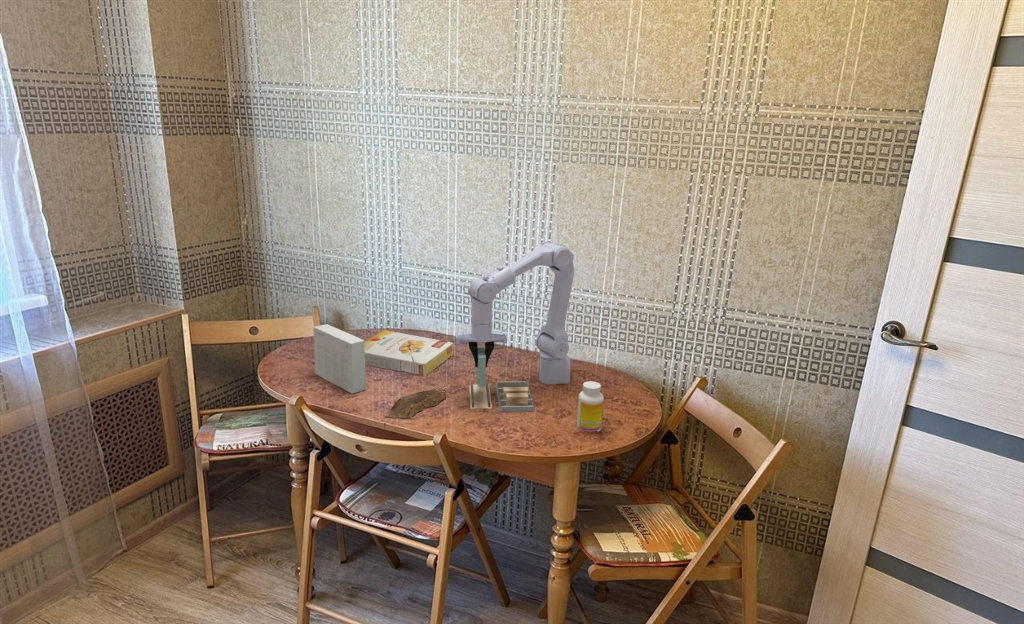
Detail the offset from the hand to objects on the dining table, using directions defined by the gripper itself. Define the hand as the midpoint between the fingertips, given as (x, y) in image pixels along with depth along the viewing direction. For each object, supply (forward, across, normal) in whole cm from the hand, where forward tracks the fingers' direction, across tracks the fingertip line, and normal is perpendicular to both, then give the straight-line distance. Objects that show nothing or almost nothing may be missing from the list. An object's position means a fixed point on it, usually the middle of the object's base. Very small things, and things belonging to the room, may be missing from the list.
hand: (481, 366), depth 179 cm
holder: (+10, 0, 0) cm, 11 cm away
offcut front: (+9, -10, +8) cm, 16 cm away
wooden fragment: (+11, +18, +1) cm, 21 cm away
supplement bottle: (+11, -28, +20) cm, 36 cm away
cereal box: (+11, +24, -32) cm, 42 cm away
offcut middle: (+9, -10, +4) cm, 14 cm away
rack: (+10, -10, +1) cm, 14 cm away
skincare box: (+11, +42, -15) cm, 46 cm away
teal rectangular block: (+4, 0, 0) cm, 4 cm away
